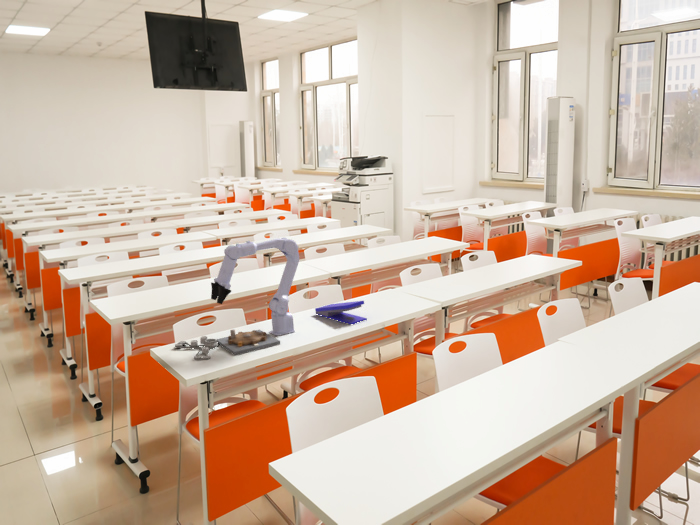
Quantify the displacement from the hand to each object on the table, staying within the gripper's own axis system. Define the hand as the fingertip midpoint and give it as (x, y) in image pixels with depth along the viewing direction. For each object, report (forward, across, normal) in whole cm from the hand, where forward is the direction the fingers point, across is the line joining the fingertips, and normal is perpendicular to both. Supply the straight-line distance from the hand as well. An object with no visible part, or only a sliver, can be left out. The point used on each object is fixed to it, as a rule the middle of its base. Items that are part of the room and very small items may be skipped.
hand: (216, 301), depth 245 cm
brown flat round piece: (+12, +8, +16) cm, 22 cm away
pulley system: (+22, +2, 0) cm, 22 cm away
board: (+14, +8, +17) cm, 23 cm away
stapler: (-7, +2, +65) cm, 65 cm away
